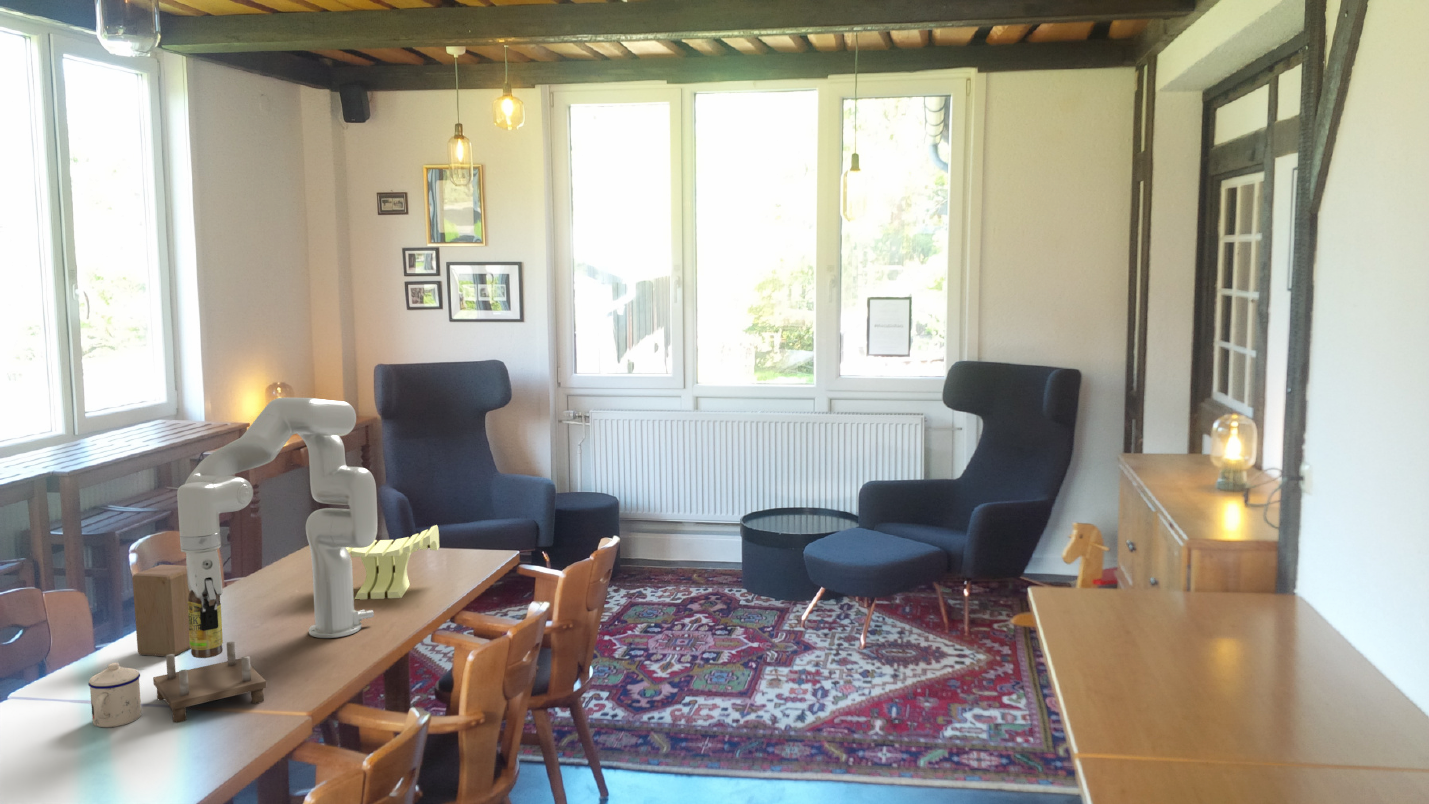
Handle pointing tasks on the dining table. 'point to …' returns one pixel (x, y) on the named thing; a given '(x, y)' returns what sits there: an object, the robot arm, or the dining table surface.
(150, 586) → the wooden block
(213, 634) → the sauce bottle
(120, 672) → the teacup with lid
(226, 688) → the peg shelf
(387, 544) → the slatted curved stool
